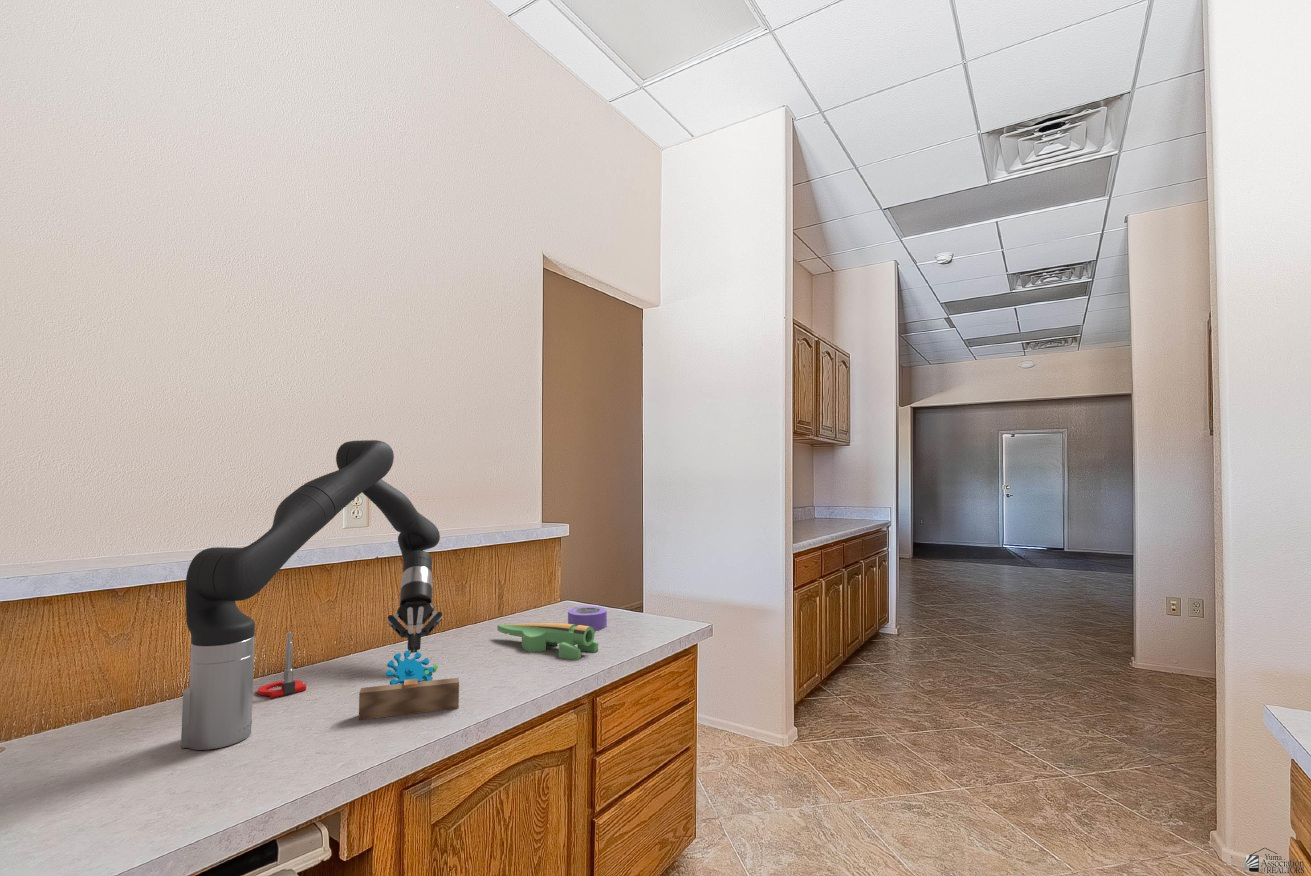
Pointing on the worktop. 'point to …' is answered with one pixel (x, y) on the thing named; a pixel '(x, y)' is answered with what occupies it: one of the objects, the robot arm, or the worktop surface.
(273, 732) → the worktop surface
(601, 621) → the tape roll
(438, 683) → the rail
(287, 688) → the tow hook
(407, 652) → the gear
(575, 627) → the green elongated piece
